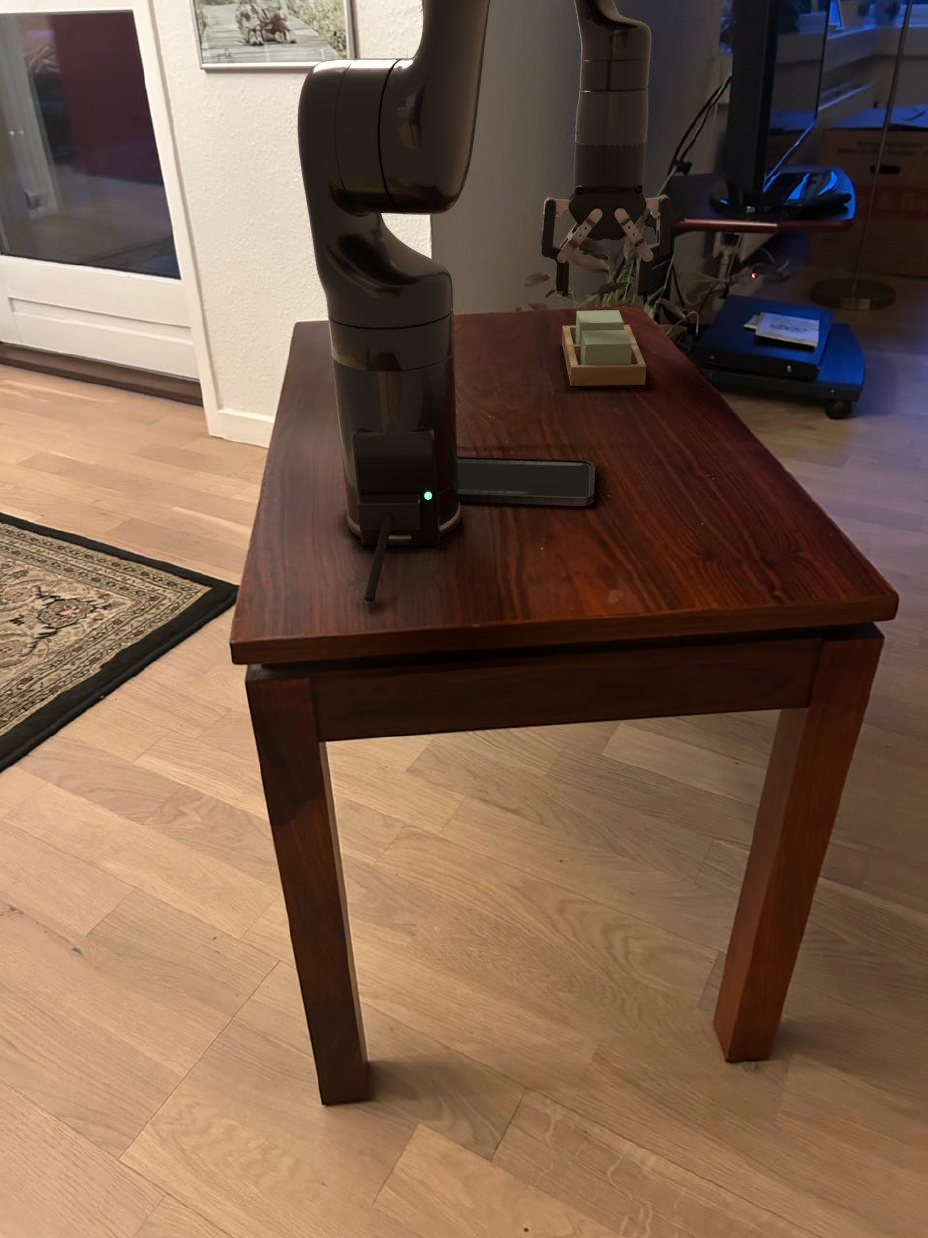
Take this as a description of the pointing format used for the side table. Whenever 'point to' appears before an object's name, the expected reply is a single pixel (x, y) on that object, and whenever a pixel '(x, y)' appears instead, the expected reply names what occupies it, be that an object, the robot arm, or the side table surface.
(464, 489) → the phone
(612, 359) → the green foam block
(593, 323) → the green block
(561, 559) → the side table surface
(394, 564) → the side table surface
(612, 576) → the side table surface
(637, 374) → the holder
